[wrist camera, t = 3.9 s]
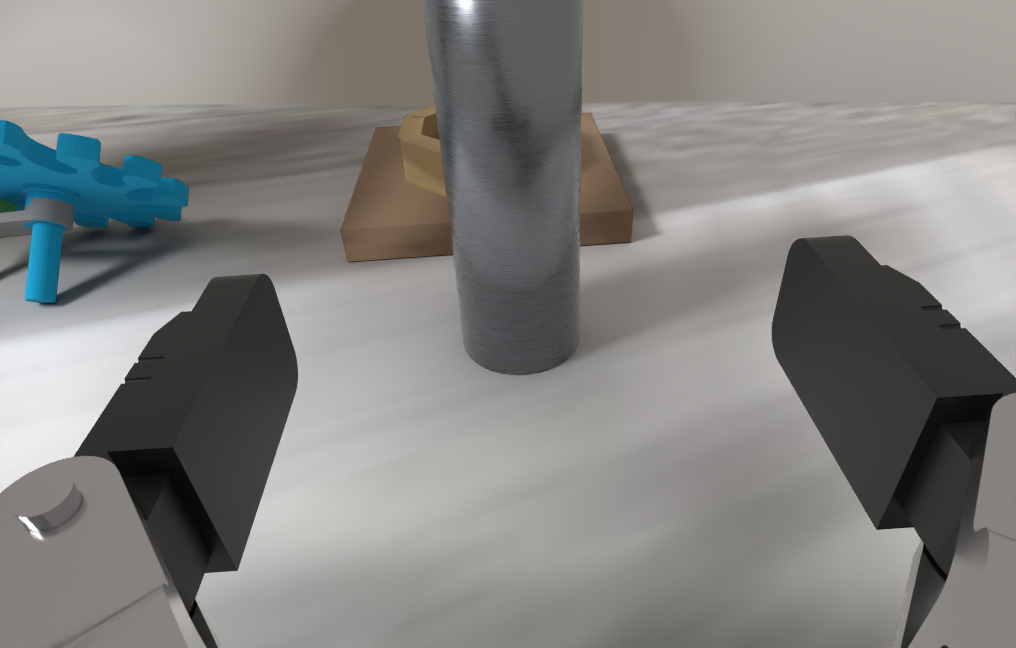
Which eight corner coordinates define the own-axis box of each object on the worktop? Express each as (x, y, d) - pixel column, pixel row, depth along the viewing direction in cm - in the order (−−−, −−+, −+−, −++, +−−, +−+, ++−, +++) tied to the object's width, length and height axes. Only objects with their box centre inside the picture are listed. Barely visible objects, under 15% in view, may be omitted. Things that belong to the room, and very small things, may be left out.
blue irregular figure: (239, 189, 30) (31, 81, 21) (231, 315, 29) (9, 262, 20) (54, 210, 33) (-203, 123, 24) (41, 325, 32) (-231, 283, 23)
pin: (450, 387, 21) (371, -158, 12) (454, 302, 25) (395, -157, 16) (600, 377, 21) (622, -174, 12) (580, 293, 25) (587, -170, 16)
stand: (347, 261, 28) (329, 184, 25) (380, 153, 37) (369, 91, 35) (631, 242, 28) (636, 163, 25) (590, 138, 37) (591, 75, 35)
